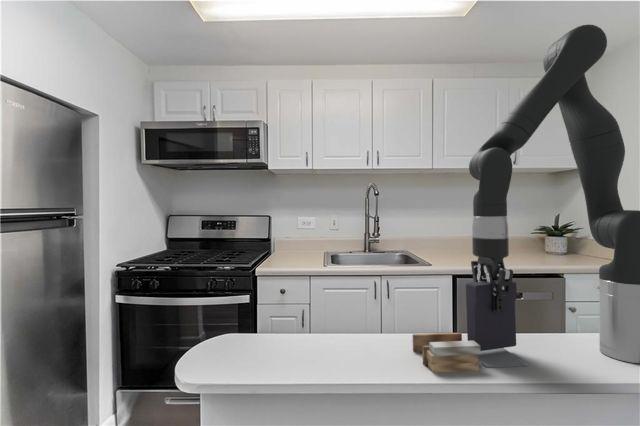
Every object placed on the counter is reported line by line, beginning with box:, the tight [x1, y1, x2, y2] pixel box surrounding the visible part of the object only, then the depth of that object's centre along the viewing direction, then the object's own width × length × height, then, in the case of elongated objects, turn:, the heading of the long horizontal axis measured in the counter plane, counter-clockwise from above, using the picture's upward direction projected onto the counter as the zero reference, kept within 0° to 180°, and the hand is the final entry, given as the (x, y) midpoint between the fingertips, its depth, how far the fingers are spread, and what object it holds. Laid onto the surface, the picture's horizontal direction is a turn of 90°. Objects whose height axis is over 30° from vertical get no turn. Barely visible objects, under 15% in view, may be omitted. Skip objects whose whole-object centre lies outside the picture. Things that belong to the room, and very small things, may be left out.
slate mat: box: [478, 348, 527, 368], centre depth 79 cm, size 9×12×1 cm
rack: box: [412, 332, 463, 366], centre depth 79 cm, size 12×8×4 cm, turn 93°
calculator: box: [465, 280, 518, 351], centre depth 79 cm, size 11×4×15 cm, turn 104°
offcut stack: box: [427, 340, 480, 373], centre depth 73 cm, size 11×3×5 cm, turn 93°
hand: (490, 308), depth 79 cm, fingers closed on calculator, 4 cm apart
